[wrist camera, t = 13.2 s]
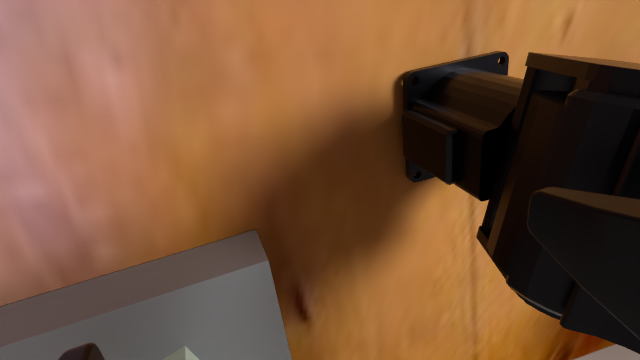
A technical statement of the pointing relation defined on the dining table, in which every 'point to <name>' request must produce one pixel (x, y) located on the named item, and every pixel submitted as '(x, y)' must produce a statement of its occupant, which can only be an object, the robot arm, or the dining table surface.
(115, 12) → the dining table surface
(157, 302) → the plinth
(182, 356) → the sage block
